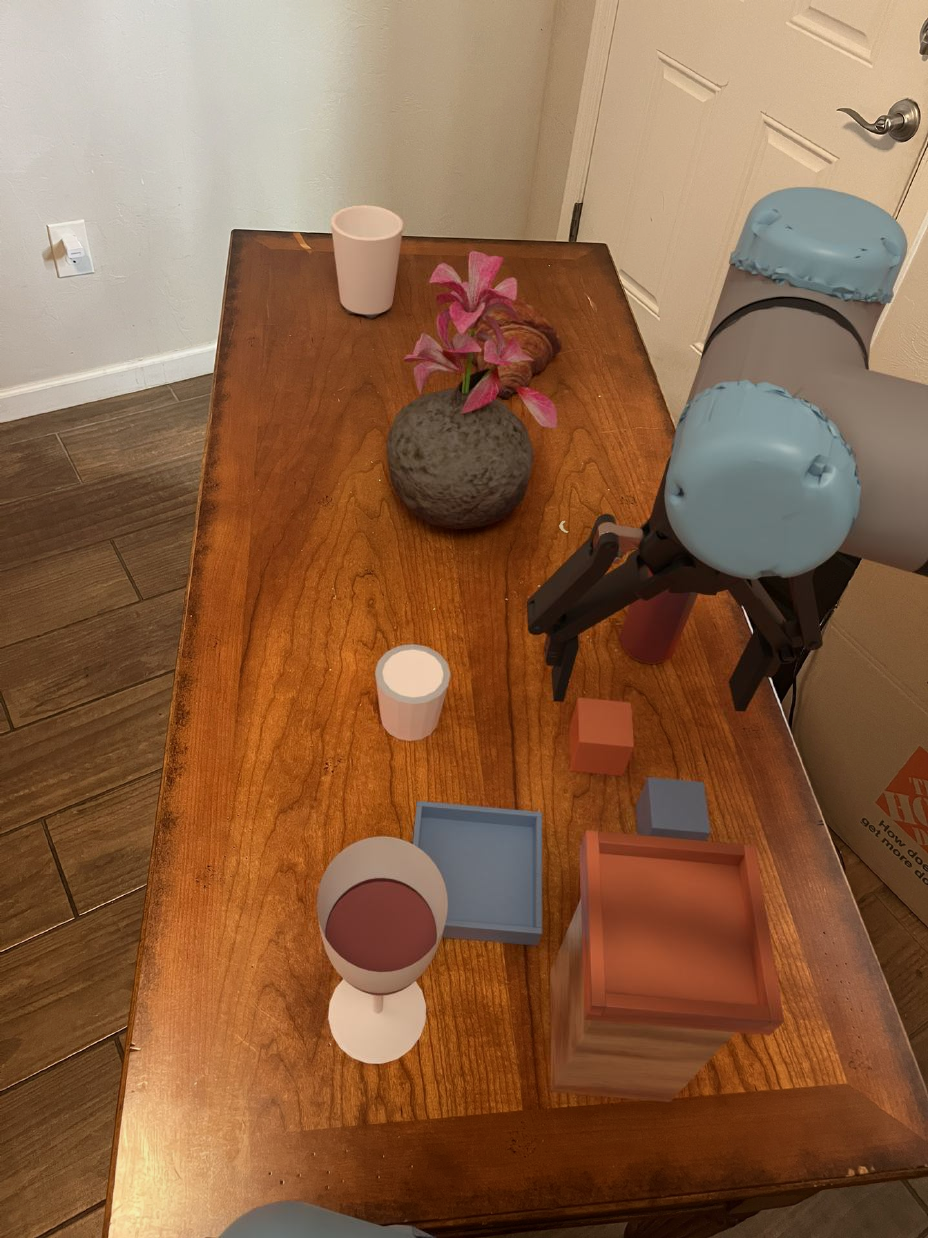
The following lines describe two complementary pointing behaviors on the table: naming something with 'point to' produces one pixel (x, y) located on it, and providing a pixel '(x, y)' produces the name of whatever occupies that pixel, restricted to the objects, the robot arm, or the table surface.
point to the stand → (659, 965)
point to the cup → (366, 257)
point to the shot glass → (411, 690)
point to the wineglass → (380, 943)
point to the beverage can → (656, 625)
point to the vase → (465, 412)
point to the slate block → (673, 809)
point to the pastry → (532, 338)
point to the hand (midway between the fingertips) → (647, 692)
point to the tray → (486, 869)
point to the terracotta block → (601, 736)
